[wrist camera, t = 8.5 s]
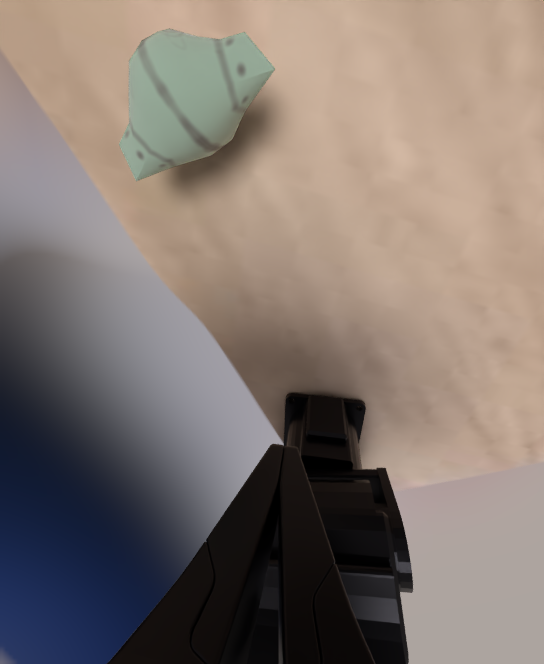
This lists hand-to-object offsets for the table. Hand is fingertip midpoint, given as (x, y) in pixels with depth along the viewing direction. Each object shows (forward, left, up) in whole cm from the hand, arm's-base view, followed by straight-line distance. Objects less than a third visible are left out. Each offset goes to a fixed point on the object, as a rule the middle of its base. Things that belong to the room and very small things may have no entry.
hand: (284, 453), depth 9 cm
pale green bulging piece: (+11, +6, -13) cm, 18 cm away
